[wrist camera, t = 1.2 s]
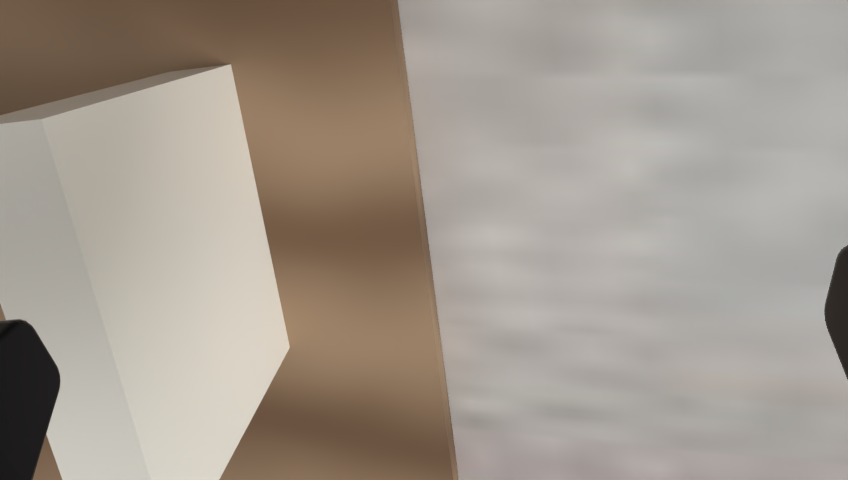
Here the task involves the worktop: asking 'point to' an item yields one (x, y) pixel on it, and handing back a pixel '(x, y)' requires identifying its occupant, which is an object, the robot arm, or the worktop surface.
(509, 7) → the worktop surface
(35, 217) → the block
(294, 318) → the board
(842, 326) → the robot arm
